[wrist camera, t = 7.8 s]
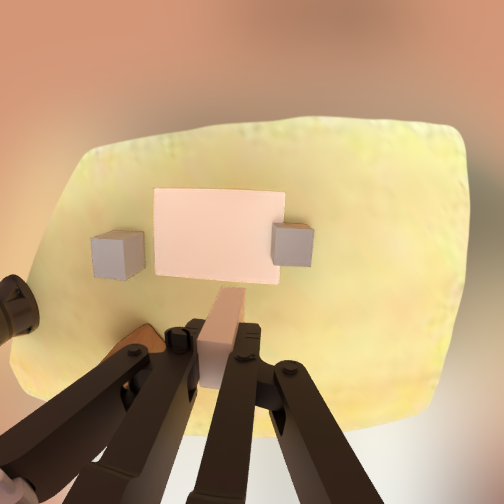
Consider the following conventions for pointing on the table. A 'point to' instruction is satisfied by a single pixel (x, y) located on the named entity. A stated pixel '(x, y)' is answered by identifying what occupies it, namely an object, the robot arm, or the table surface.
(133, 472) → the robot arm
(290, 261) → the grey cube
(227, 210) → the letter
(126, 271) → the slate cube
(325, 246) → the table surface
